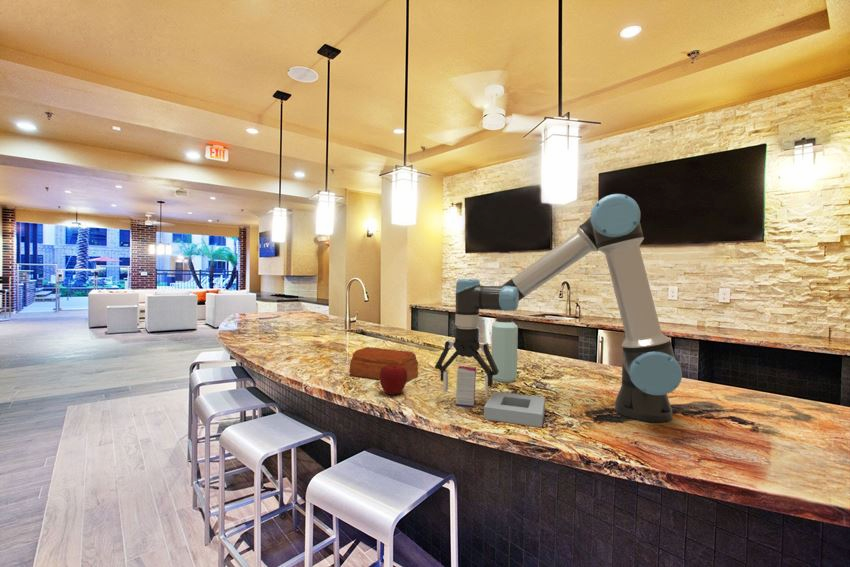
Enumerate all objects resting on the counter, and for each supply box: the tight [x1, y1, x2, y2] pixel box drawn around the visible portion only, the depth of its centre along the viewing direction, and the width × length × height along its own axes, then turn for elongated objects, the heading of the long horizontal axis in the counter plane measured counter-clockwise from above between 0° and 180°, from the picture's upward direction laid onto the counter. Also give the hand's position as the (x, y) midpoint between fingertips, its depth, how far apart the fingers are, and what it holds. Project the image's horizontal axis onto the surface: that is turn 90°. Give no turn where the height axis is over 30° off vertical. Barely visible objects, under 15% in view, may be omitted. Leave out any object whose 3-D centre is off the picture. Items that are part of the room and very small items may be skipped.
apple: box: [379, 364, 407, 396], centre depth 133 cm, size 10×10×10 cm
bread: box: [349, 346, 419, 383], centre depth 157 cm, size 16×27×11 cm, turn 65°
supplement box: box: [455, 365, 477, 408], centre depth 123 cm, size 6×6×12 cm
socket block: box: [483, 391, 546, 428], centre depth 115 cm, size 16×16×4 cm
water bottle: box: [490, 315, 519, 383], centre depth 153 cm, size 10×10×25 cm
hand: (465, 393), depth 124 cm, fingers open, 13 cm apart
